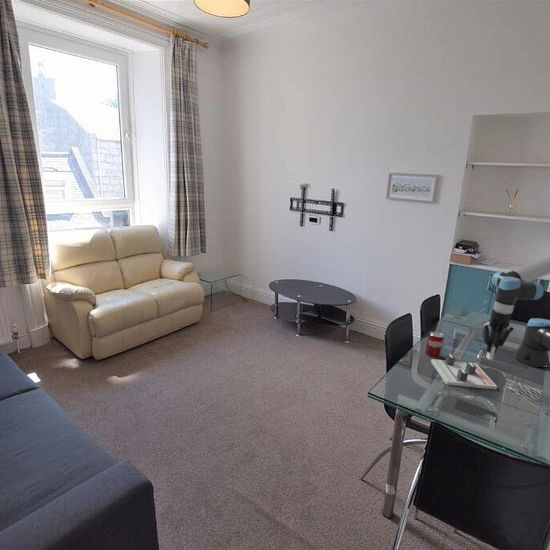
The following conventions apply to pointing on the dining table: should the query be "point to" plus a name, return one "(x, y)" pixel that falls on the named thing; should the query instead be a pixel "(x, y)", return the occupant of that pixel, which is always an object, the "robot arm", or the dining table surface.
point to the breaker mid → (470, 368)
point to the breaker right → (462, 375)
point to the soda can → (434, 344)
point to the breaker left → (450, 359)
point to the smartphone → (472, 408)
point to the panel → (472, 380)
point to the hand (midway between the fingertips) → (489, 358)
